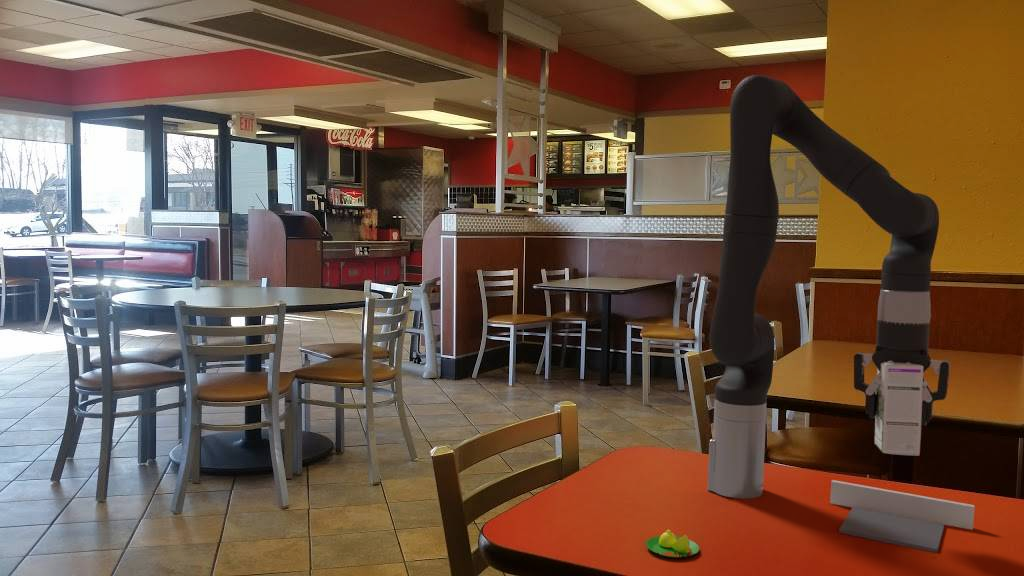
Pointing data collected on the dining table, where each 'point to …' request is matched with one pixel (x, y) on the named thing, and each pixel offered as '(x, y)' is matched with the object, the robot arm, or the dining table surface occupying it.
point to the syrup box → (899, 409)
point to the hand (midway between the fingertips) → (897, 420)
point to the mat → (893, 529)
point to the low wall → (902, 504)
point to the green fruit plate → (672, 544)
